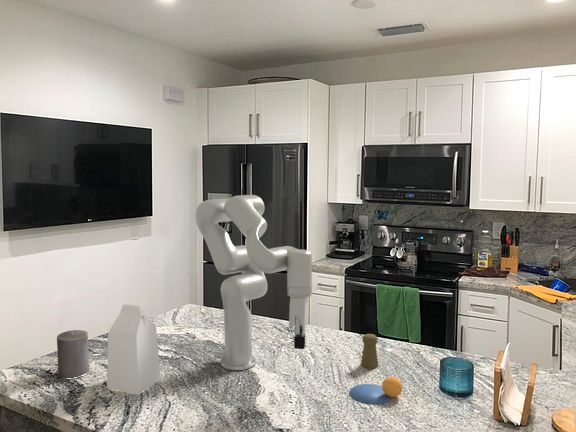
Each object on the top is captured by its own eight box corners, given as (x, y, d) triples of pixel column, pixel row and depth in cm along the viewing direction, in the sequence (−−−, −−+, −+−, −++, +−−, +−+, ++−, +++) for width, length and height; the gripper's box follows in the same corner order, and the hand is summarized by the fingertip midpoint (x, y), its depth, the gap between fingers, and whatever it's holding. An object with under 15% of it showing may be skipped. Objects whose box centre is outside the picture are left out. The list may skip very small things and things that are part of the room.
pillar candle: (53, 374, 166) (51, 331, 165) (82, 365, 174) (80, 324, 172) (65, 382, 160) (63, 338, 158) (94, 373, 167) (93, 330, 165)
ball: (407, 392, 146) (392, 404, 147) (405, 383, 151) (391, 395, 153) (392, 377, 146) (377, 389, 147) (392, 369, 152) (377, 381, 153)
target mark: (348, 402, 146) (348, 401, 146) (349, 383, 159) (349, 382, 158) (393, 405, 144) (393, 404, 144) (391, 385, 157) (391, 385, 157)
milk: (160, 379, 162) (158, 302, 159) (139, 395, 151) (136, 312, 148) (130, 374, 166) (127, 299, 163) (107, 389, 155) (103, 309, 152)
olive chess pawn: (378, 369, 169) (378, 338, 168) (360, 368, 170) (360, 337, 169) (378, 362, 175) (379, 332, 174) (361, 361, 176) (361, 331, 175)
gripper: (290, 284, 159) (291, 339, 161) (283, 296, 144) (284, 356, 146) (314, 284, 158) (313, 340, 160) (309, 297, 143) (309, 357, 145)
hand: (299, 347), depth 153 cm, fingers closed
